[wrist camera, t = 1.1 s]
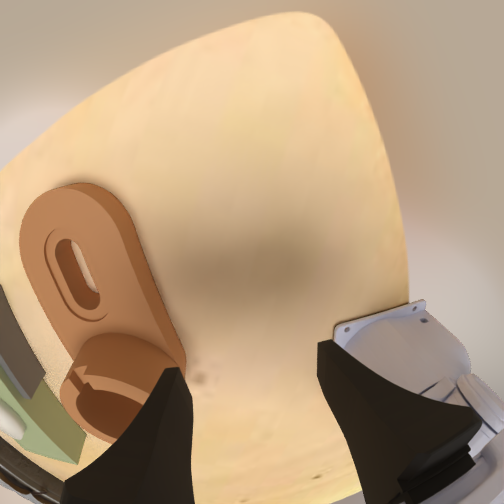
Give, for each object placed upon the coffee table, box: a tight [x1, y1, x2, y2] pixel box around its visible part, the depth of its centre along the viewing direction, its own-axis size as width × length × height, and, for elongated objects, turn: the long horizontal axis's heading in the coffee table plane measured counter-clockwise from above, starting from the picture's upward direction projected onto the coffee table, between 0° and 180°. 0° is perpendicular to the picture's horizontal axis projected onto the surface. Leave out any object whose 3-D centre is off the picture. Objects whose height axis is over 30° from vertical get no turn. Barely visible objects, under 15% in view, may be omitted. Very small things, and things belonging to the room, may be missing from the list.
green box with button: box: [0, 284, 86, 465], centre depth 16 cm, size 11×22×7 cm, turn 7°
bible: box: [0, 436, 64, 504], centre depth 24 cm, size 23×27×10 cm
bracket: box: [19, 183, 186, 444], centre depth 15 cm, size 18×8×7 cm, turn 13°
